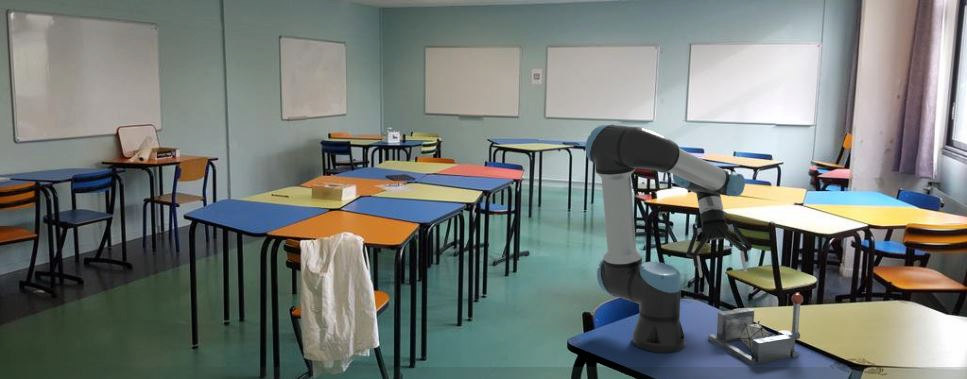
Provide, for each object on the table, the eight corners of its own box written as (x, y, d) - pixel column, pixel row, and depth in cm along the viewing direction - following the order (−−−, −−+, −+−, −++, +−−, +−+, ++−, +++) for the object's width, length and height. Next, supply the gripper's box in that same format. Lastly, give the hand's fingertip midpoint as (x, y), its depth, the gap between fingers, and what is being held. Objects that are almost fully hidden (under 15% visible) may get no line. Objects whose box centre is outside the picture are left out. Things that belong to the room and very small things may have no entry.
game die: (759, 363, 199) (776, 345, 192) (731, 351, 200) (746, 333, 193) (761, 339, 205) (778, 321, 198) (734, 328, 206) (749, 309, 199)
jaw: (716, 339, 207) (717, 312, 205) (747, 334, 210) (748, 307, 209) (722, 342, 204) (724, 315, 203) (753, 337, 207) (755, 310, 206)
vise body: (708, 339, 207) (709, 320, 206) (756, 331, 212) (757, 313, 211) (750, 364, 189) (752, 344, 188) (802, 355, 195) (803, 335, 194)
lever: (786, 338, 200) (789, 292, 198) (795, 336, 201) (798, 291, 199) (794, 341, 197) (797, 296, 195) (802, 340, 198) (805, 294, 196)
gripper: (750, 212, 229) (763, 273, 220) (673, 221, 234) (682, 281, 225) (752, 203, 222) (765, 266, 214) (673, 213, 227) (683, 274, 219)
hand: (723, 274), depth 220 cm, fingers open, 13 cm apart
